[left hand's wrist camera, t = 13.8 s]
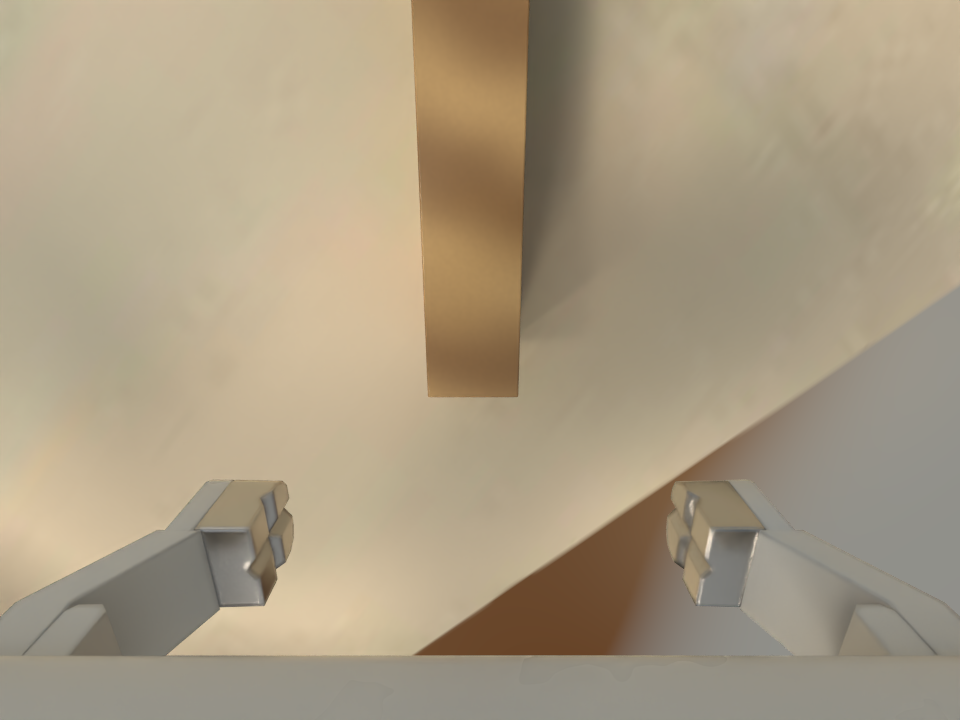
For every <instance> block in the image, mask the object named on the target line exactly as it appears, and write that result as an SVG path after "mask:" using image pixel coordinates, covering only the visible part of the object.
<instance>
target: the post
mask: <svg viewBox="0 0 960 720" xmlns="http://www.w3.org/2000/svg"><path fill="white" fill-rule="evenodd" d="M529 2H530V0H411V4H412V28H413V52H414V75H415V99H416V123H417V146H418V170H419V194H420V217H421V241H422V265H423V288H424V312H425V336H426V359H427V383H428V397H518V381H519V347H520V312H521V278H522V243H523V209H524V174H525V140H526V105H527V71H528V36H529Z"/></svg>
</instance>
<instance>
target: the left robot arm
mask: <svg viewBox="0 0 960 720" xmlns="http://www.w3.org/2000/svg"><path fill="white" fill-rule="evenodd" d="M288 500H289V494H288V489H287V485H286V484H285V483H284V482H283V481H262V480H211V481H208V482H206V483H205V484H204V485H203V486H202V488H201V489H200V490H199V491H198V492H197V493H196V494H195V496H194V497H193V498H192V499H191V500H190V501H189V503H188V504H187V505H186V506H185V507H184V508H183V510H182V511H181V512H180V513H179V514H178V515H177V517H176V518H175V519H174V520H173V521H172V522H171V524H170V525H169V526H168V527H167V528H166V529H165V530H156V531H154V532H153V533H151V534H149V535H147V536H145V537H143V538H141V539H139V540H137V541H135V542H133V543H131V544H129V545H127V546H125V547H123V548H121V549H119V550H117V551H115V552H113V553H111V554H109V555H107V556H105V557H103V558H102V559H100V560H98V561H96V562H94V563H92V564H90V565H88V566H86V567H84V568H82V569H80V570H78V571H76V572H74V573H72V574H70V575H68V576H66V577H64V578H62V579H60V580H58V581H56V582H54V583H52V584H51V585H49V586H47V587H45V588H43V589H41V590H39V591H37V592H35V593H33V594H31V595H29V596H27V597H25V598H23V599H21V600H19V601H17V602H16V603H14V604H13V605H12V606H11V607H10V608H9V609H8V610H7V611H6V612H5V613H4V614H3V615H2V616H1V617H0V720H960V616H958V615H957V614H956V613H955V612H954V611H953V610H952V609H951V608H950V607H949V606H948V605H947V604H946V603H944V602H942V601H940V600H938V599H937V598H935V597H933V596H931V595H929V594H927V593H925V592H923V591H921V590H919V589H917V588H915V587H913V586H911V585H909V584H907V583H905V582H903V581H901V580H899V579H897V578H895V577H894V576H892V575H890V574H888V573H886V572H884V571H882V570H880V569H878V568H876V567H874V566H872V565H870V564H868V563H866V562H864V561H862V560H860V559H858V558H856V557H854V556H852V555H850V554H849V553H847V552H845V551H843V550H841V549H839V548H837V547H835V546H833V545H831V544H829V543H827V542H825V541H823V540H821V539H819V538H817V537H815V536H813V535H811V534H809V533H807V532H806V531H803V530H795V529H794V528H793V527H792V526H791V525H790V524H789V522H788V521H787V520H786V519H785V518H784V517H783V515H782V514H781V513H780V512H779V511H778V510H777V508H776V507H775V506H774V505H773V504H772V503H771V502H770V500H769V499H768V498H767V497H766V496H765V495H764V493H763V492H762V491H761V490H760V489H759V488H758V486H757V485H756V484H755V483H754V482H752V481H750V480H724V481H681V482H675V484H674V486H673V488H672V494H671V500H672V501H673V503H674V505H675V507H676V508H675V509H674V510H673V511H672V512H671V513H670V514H669V515H668V518H667V526H666V534H667V544H668V547H669V551H670V554H671V556H672V558H673V560H674V562H675V563H676V564H678V565H679V566H680V567H682V568H683V569H684V574H683V581H684V583H685V585H686V587H687V589H688V591H689V593H690V595H691V597H692V599H693V601H694V603H695V605H696V606H717V607H740V609H741V610H742V611H743V612H744V613H745V614H746V615H748V616H749V617H750V618H751V619H752V620H753V621H755V622H756V623H757V624H758V625H759V626H760V627H762V628H763V629H764V630H765V631H766V632H768V633H769V634H770V635H771V636H772V637H773V638H775V639H776V640H777V641H778V642H779V643H780V644H782V645H783V646H784V647H785V648H786V649H787V650H789V651H790V652H791V653H792V654H793V655H795V656H166V655H167V654H168V653H169V652H170V651H171V650H173V649H174V648H175V647H176V646H177V645H179V644H180V643H181V642H182V641H183V640H184V639H186V638H187V637H188V636H189V635H190V634H192V633H193V632H194V631H195V630H196V629H197V628H199V627H200V626H201V625H202V624H203V623H205V622H206V621H207V620H208V619H209V618H210V617H212V616H213V615H214V614H215V613H216V612H217V611H219V610H220V608H219V607H242V606H265V603H266V601H267V599H268V597H269V595H270V593H271V591H272V589H273V587H274V585H275V583H276V581H277V574H276V569H277V568H278V567H280V566H281V565H282V564H284V563H285V562H286V560H287V558H288V556H289V554H290V552H291V547H292V542H293V538H294V524H293V518H292V515H291V514H290V513H289V512H288V511H287V510H286V509H285V508H284V507H285V505H286V503H287V501H288Z"/></svg>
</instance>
